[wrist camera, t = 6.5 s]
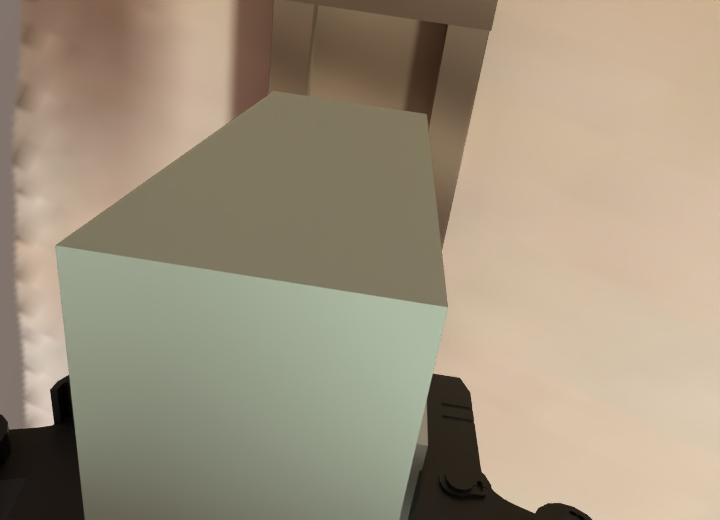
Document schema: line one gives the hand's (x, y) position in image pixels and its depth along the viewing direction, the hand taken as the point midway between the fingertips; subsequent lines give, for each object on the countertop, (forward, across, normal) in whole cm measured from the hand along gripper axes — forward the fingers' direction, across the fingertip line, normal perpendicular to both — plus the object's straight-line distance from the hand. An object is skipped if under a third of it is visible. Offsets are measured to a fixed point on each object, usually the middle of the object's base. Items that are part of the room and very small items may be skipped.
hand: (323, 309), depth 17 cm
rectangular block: (0, 0, 0) cm, 0 cm away
